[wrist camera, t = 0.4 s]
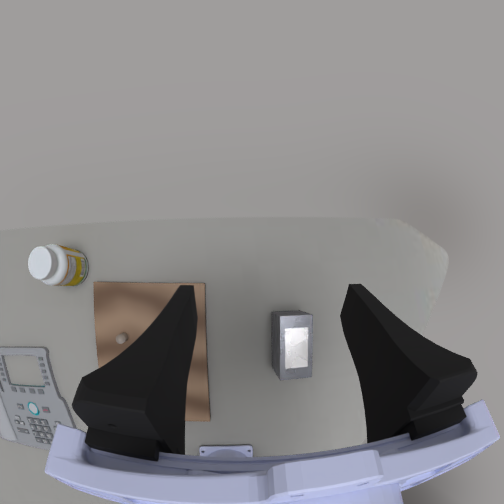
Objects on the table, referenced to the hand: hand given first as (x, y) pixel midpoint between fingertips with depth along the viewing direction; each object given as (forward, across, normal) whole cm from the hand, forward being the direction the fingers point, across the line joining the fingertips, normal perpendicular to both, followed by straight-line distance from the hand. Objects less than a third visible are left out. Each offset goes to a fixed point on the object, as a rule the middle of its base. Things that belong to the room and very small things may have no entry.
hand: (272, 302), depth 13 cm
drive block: (+17, -5, +22) cm, 28 cm away
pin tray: (+15, +14, +23) cm, 31 cm away
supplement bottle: (+21, +26, +13) cm, 36 cm away
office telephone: (+6, +41, +32) cm, 52 cm away
